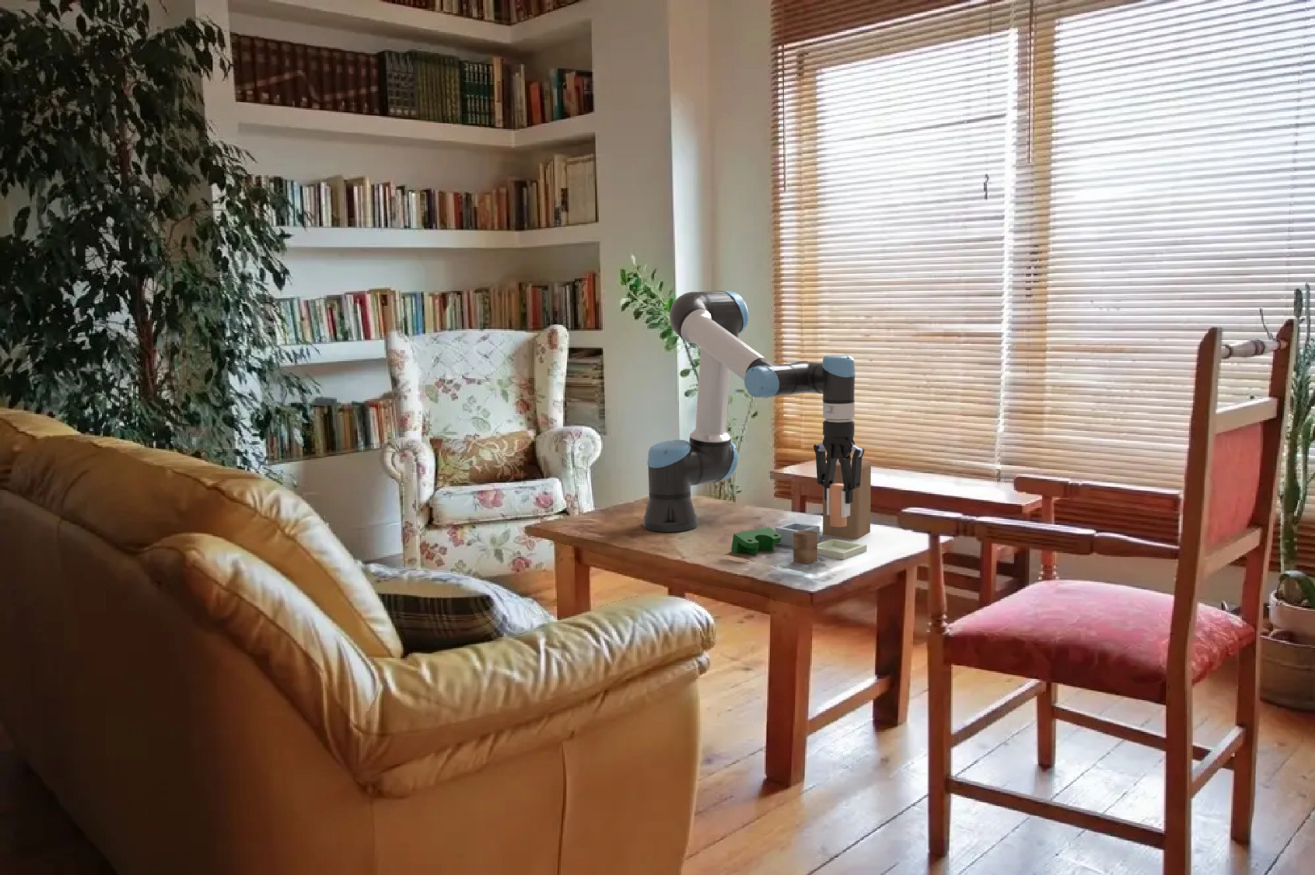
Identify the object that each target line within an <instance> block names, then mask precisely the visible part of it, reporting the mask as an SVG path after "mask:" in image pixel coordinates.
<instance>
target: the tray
mask: <svg viewBox="0 0 1315 875" xmlns="http://www.w3.org/2000/svg"><path fill="white" fill-rule="evenodd" d="M867 547H868V545H867V544H863V543H859V542H853V541H847V540H843V539H837V538H829V539H827V540H824V541H820V542H818V543H817V556H818V555H819V556H825V557H829V558H834V559H839V560H846V559H847V560H848V559H849V558H852V557H855V556H857V555H860V554H863V553H866V552H867V551H868V548H867Z"/></svg>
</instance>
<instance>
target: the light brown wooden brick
mask: <svg viewBox="0 0 1315 875" xmlns="http://www.w3.org/2000/svg"><path fill="white" fill-rule="evenodd" d="M817 544H818V543H817V532H814V531H808V530H801V531H797V532H794V533H793V558H792V559H793V562H794V563H797V564H798V563H799V564H802V565H810V564H813V563H815V562H816V563H817V562H818V554H817Z"/></svg>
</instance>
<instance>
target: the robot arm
mask: <svg viewBox="0 0 1315 875" xmlns="http://www.w3.org/2000/svg"><path fill="white" fill-rule="evenodd" d="M749 316H750V315H749V310H748V307H747V303H746V301H744V298H743V297H742V296H741V295H740V294H739V293H737V292H735V291H732V290H710V291H709V290H708V291H691V292H686V293H683V294H681V295H680V296H678V297H677V298H676V299H675V300H674V301H673V303H672V305H671V308H670V310H669V322H670V326H671V328H672V330H673V331H674V333H675V334H676V335H677V336H678V337H679V338H681V339H682V340H683V341H684V342H686V343H688V344H695V345H697V346H698V347H699V348H700V351H699V352H700V353H699V365H698V366H699V367H698V368H699V369H698V370H699V372H698V383H697V398H696V399H697V400H696V413H695V415H696V416H695V419H696V420H695V429H694V430H693V431H692V432H690V434H689V441H687V440H685V439H673V440H666V441H660V442H657V443H655V444H652V446H651V447H649V450H648V452H647V455H648V456H647V466H648V468H647V470H648V473H647V474H648V500H647V501H648V502H647V505H646V508H645V514H644V515H643V520H642V521H643V522H642V523H643V525H642V526H643V528H644V529H646V530H649V531H653V532H660V533H661V532H662V533H673V532H674V533H676V532H677V533H678V532H686V531H691V530H694V529H695V528H697V527H698V524H699V523H698V516H697V514H696V512H695V508H694V504H693V500H692V497H691V496H692V494H691V493H692V492H691V491H692V490H691V489H692V488H691V486H697V485H698V486H699V485H702V484H703V485H705V484H710V483H712V484H713V483H718V482H721V481H725V480H728V479H729V478H730V477H731V476H733V474H734V473H735V471H737V470H736V469H737V466H738V463H739V453H738V451H737V446H736V445H735V443H734V442H733V441H732V436H731V435H730V434H729V433H728V432H727V421H728V407H729V406H728V405H729V392H730V391H729V390H730V377H731V372H732V373H733V374H735V375H737V376H738V377H739V378H740V379H742V380H743V381H744V382H743V383H744V388H745V389H746V390H747V393H748V394H749V396H751V397H752V398H756V399H757V398H763V399H768V398H772V397H773V398H774V397H780V396H789V395H790V396H791V395H800V394H808V393H810V394H820V395H821V394H822V419H824V420H823V422H822V435H823V439H822V442H821V443H817V444H813V446H812V447H813V450H814V454H815V464H816V482H817V485H821V487H823V486H824V498H825V500H826V501H827V515H830V485H831V484H833V482H834V475H835V469H836V462H837V460H838V459H839V463H840V464H841V471H842V478H843V485H844V489H842V490H843V491H841V517H843V518H844V517H847V516H850V503H852V502H853V490H854V489H856V488H859V487H860V483H861V466H862V460H863V457H864V454H865V449H864V447H861V448H860V447H858V446H857V445H856V443H855V441H854V436H855V421H854V420H853V419H855V417H856V413H855V407H856V406H855V403H856V402H855V386H856V385H855V384H856V383H855V380H856V370H855V369H856V368H855V360H854V357H853V356H851V355H849V354H846V355H845V354H844V355H843V354H835V355H834V354H833V355H832V354H831V355H830V354H829V355H826V356H825V355H824V357H823V358H822V362H813V361H807V360H802V361H793V362H791V363H783V364H782V363H781V364H775V363H773V362H772V361H771V360H769V359H767V358H766V357H765V356H763V355H762V354H760V353H759V352H758V351H756V350H755V349H754V348H752V347H751V346H750V345H748V344H747V343H745V342H744V341H743V340H741V339H740V338H739V334H741V333H742V332H744V331H745V329H746V328H747V326H748V324H749ZM851 455H852V456H851ZM851 459H852V468H851V463H850V461H851ZM826 463H827V464H826Z"/></svg>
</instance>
